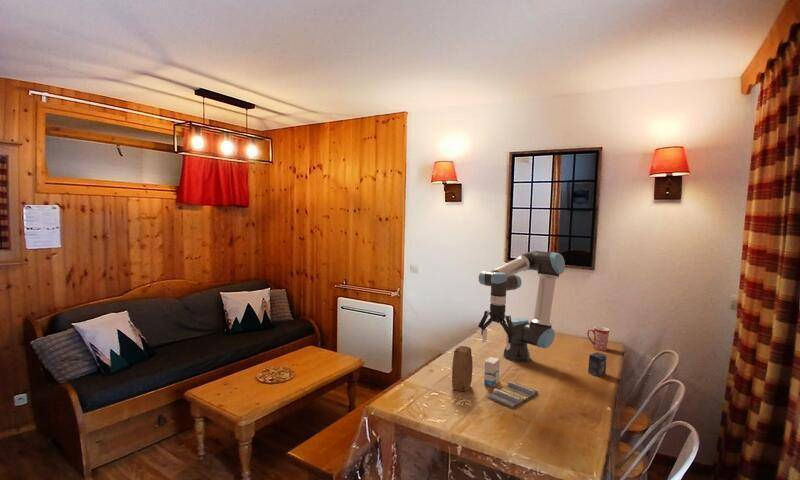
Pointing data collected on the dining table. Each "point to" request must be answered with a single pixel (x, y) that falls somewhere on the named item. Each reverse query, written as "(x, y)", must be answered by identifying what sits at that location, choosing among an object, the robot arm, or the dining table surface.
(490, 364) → the ink box
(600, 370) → the box
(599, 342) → the mug
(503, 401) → the rail board
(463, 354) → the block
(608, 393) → the dining table surface
